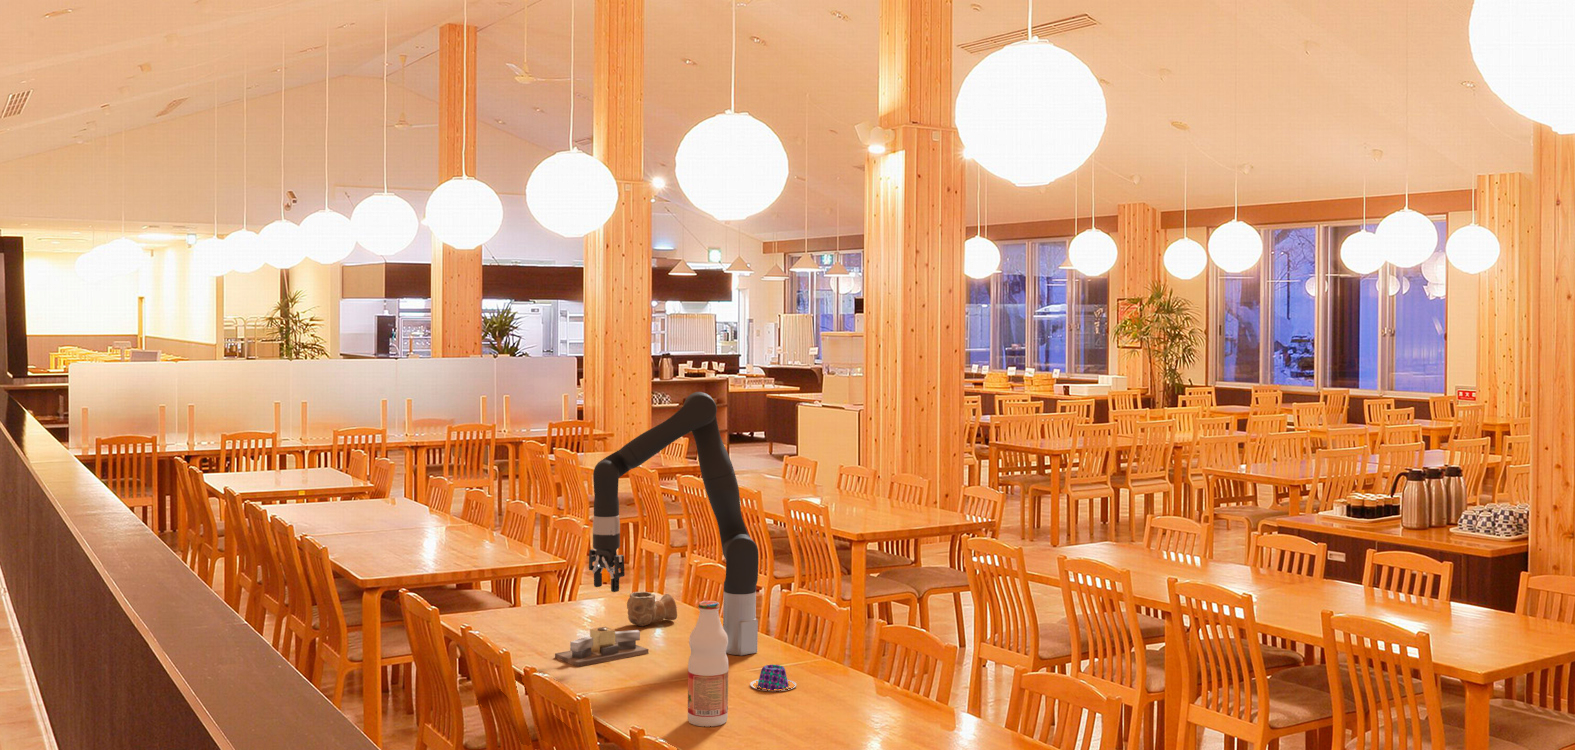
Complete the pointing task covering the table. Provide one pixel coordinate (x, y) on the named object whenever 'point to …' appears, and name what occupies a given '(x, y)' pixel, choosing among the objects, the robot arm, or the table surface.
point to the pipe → (650, 608)
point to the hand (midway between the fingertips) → (606, 589)
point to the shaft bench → (603, 649)
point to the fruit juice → (708, 669)
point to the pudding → (772, 678)
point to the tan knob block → (602, 638)
